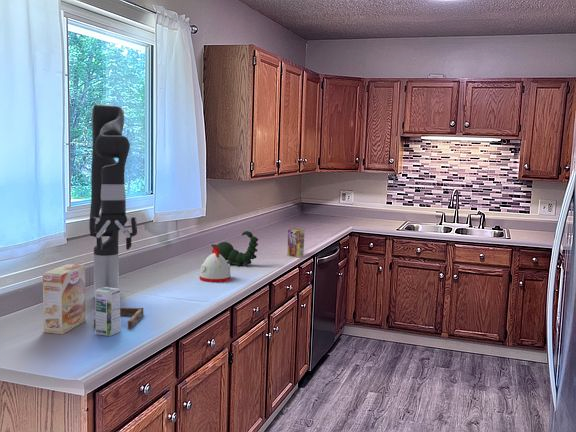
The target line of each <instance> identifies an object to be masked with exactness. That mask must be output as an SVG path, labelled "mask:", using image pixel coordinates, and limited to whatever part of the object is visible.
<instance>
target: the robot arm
mask: <svg viewBox="0 0 576 432" xmlns="http://www.w3.org/2000/svg"><path fill="white" fill-rule="evenodd" d="M91 110H92V111H91V135H92V153H91V154H92V156H91V173H90V175H91V176H90V177H91V179H90V180H91V181H90V182H91V187H90V188H91V189H90V190H91V193H90V194H91V195H90V196H91V198H90V199H91V200H90V213H89V221H88V222H89V225H88V228H89V235H90V236H91V237H94V238H96V239H95V240H96V245H95V246H94V247H93V293H94V294H93V297H94V298H95V291H96V290H97V289H99V288H103V287H109V288H117V289H120V288H119V285H120V284H119V283H120V281H119V278H120V277H119V272H120V271H119V234H120V233H119V232H120V231H121V232H122V233H123V234H124V235H125V237H126V238H125V249H126V250H127V251H128V250H130V248H132V246H133V245H132V238H133V237H135V236H137V234H138V225H137V217H136V216H131V217H128V216H127V213H126V212H127V209H126V207H127V203H126V202H127V201H126V196H127V195H126V187H125V170H126V163H127V160H128V155H129V152H130V149H131V147H130V146H131V144H130V140H129V138H128V137H127V136H125V135H123V129H124V126H125V114H124V113H125V112H124V110H123V108H122V107H121V106H119V105H112V104H95V105H93V107H92V109H91ZM116 159H117V161H116ZM127 222H128V223H129V224H130V225H131V232H130V230H129V229H128V228H127V227H126V223H127ZM103 237H109V238H108V239H107V240H105V241H104V242H103Z"/></svg>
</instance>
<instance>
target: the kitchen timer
mask: <svg viewBox="0 0 576 432" xmlns="http://www.w3.org/2000/svg"><path fill="white" fill-rule="evenodd" d="M231 276H232V275H231V266H230V264H228V261H227V260H225V259H224V257H223V256H221V255H220V254H219V251H218V248H217V247H216V246H214V248H213V247H212V250H211V254H210V255H208V256H207V257H206V259H205V260H204V261H203V263H201V265H200V272H199V281H202V282H203V283H204V282H205V283H214V282H218V283H226V282H229V281H230V280H232V279H231V278H232V277H231ZM225 281H226V282H225Z"/></svg>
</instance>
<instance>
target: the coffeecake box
mask: <svg viewBox="0 0 576 432" xmlns="http://www.w3.org/2000/svg"><path fill="white" fill-rule="evenodd" d="M42 304H43V305H42V306H43V308H42V309H43V316H42V317H43V333H46V334H56V335H57V334H58V335H64V334H65V333H67V332H69V331H71V330H72V329H74V328H76V327H77V326H79V325H82V324H83V323H84V322H86V319H87V318H86V315H87V314H86V265H84V264H83V265H82V264H73V263H72V264H71V263H66V264H64V265H62V266H59V267H56V268H52V269H51V270H48V271H45V272H42Z"/></svg>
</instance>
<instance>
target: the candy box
mask: <svg viewBox="0 0 576 432" xmlns="http://www.w3.org/2000/svg"><path fill="white" fill-rule="evenodd" d="M305 234H306V233H305V229H303V228H297V227H289V228H287V250H286V251H287V254H286V255H287V256H289V255H290V256H289V257H294V256H295V257H294V258H304V255H305V253H304V252H305Z"/></svg>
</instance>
